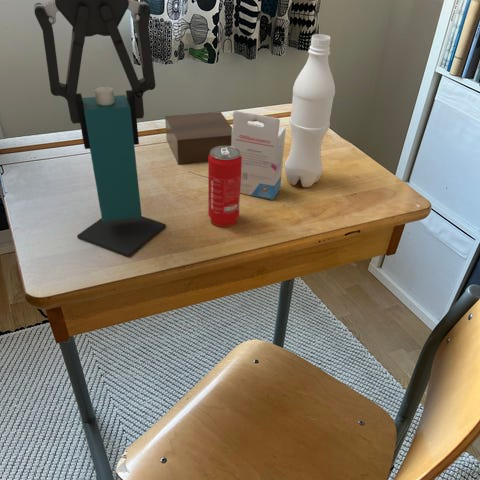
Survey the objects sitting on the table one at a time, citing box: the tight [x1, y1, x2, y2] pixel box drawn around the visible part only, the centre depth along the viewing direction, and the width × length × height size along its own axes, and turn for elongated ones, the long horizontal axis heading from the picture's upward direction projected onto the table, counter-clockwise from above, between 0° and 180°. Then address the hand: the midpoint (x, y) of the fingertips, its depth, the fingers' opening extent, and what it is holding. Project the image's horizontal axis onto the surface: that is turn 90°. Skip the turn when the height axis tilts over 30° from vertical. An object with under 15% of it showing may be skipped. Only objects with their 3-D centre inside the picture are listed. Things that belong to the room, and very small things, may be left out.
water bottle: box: [284, 33, 336, 188], centre depth 90 cm, size 7×7×25 cm
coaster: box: [76, 215, 167, 258], centre depth 83 cm, size 10×10×1 cm
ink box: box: [231, 110, 287, 201], centre depth 90 cm, size 8×5×15 cm, turn 70°
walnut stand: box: [164, 111, 233, 165], centre depth 105 cm, size 12×12×5 cm
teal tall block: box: [82, 86, 143, 221], centre depth 74 cm, size 19×6×4 cm
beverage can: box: [207, 146, 242, 228], centre depth 83 cm, size 5×5×12 cm
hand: (111, 142), depth 73 cm, fingers closed on teal tall block, 6 cm apart
